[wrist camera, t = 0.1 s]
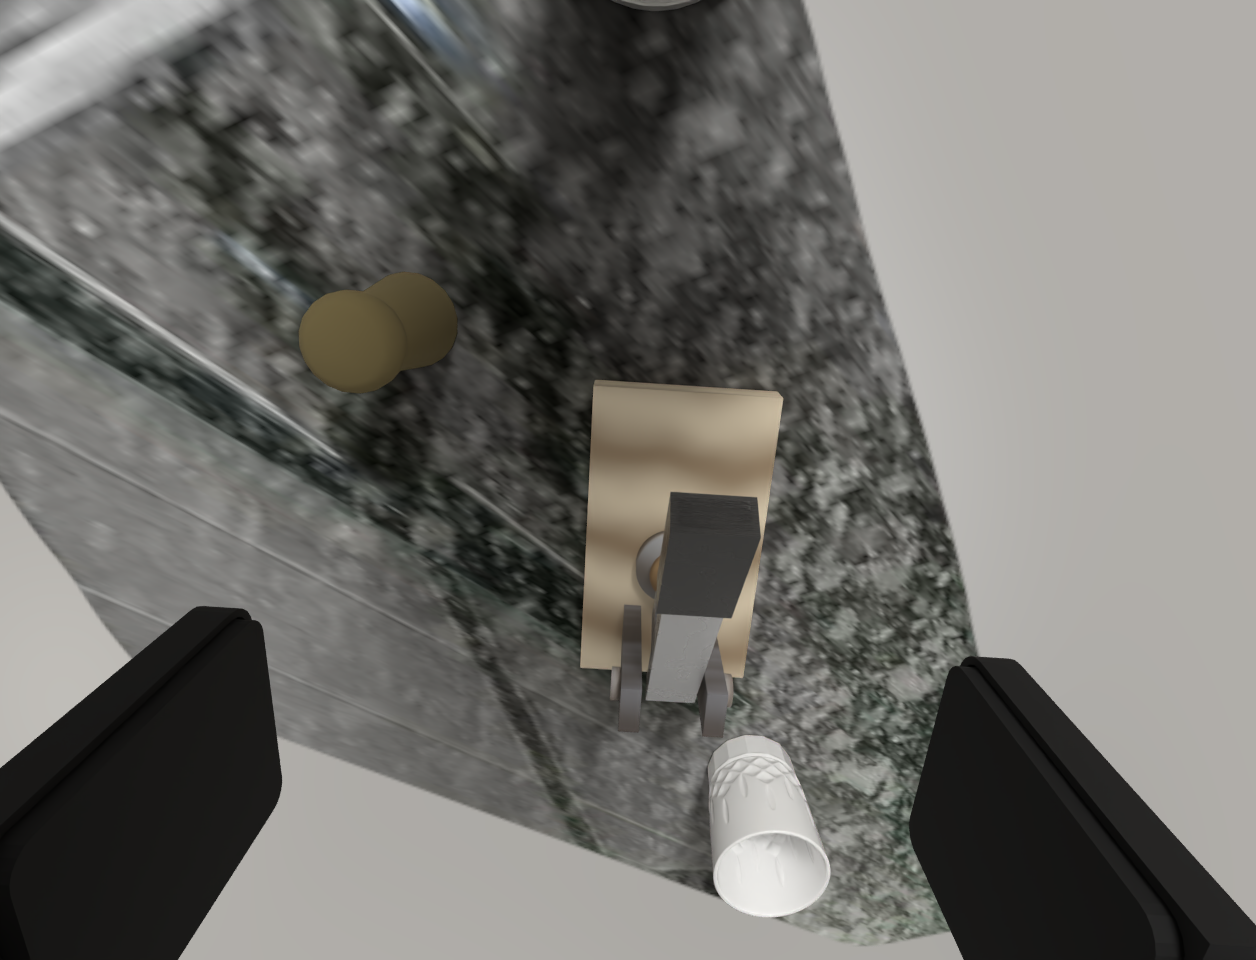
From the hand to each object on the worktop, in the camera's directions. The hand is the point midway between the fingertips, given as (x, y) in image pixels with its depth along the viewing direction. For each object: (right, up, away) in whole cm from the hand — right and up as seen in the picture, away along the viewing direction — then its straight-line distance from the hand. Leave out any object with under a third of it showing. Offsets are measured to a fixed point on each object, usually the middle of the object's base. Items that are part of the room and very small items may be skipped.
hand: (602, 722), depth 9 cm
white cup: (+10, -20, +46) cm, 51 cm away
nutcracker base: (+4, 0, +39) cm, 39 cm away
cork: (-14, +14, +34) cm, 39 cm away
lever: (+4, -2, +27) cm, 28 cm away
